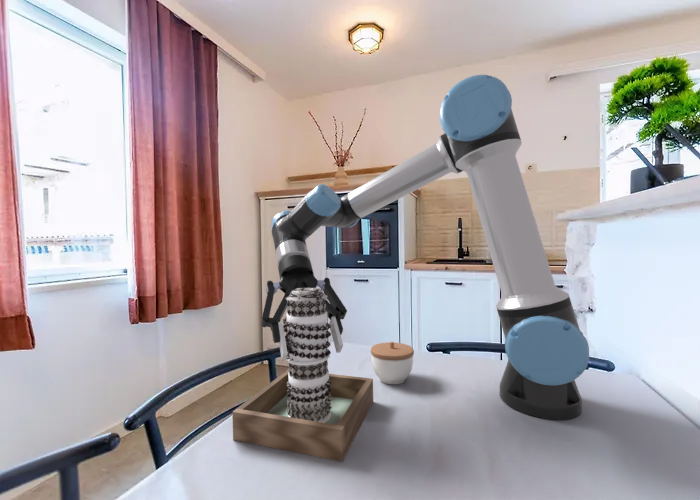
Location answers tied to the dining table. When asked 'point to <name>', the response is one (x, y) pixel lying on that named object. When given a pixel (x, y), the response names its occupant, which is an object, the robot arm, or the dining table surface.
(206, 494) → the dining table surface
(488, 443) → the dining table surface
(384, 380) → the lidded jar
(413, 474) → the dining table surface
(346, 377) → the wooden drawer box
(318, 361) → the decorative candle
